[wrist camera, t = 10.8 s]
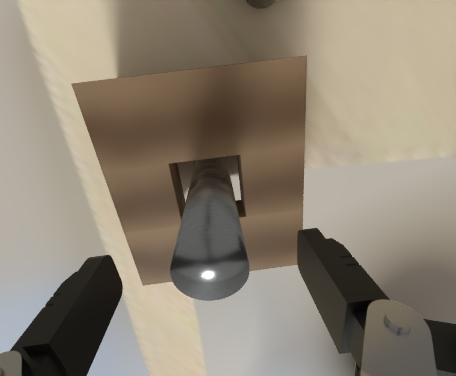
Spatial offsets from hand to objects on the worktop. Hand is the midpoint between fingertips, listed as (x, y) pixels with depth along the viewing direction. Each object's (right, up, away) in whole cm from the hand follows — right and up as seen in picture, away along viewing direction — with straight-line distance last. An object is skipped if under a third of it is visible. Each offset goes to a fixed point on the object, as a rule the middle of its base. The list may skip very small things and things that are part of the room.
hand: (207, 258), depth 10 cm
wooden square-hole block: (-1, +5, +13) cm, 14 cm away
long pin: (-1, +6, +13) cm, 14 cm away
